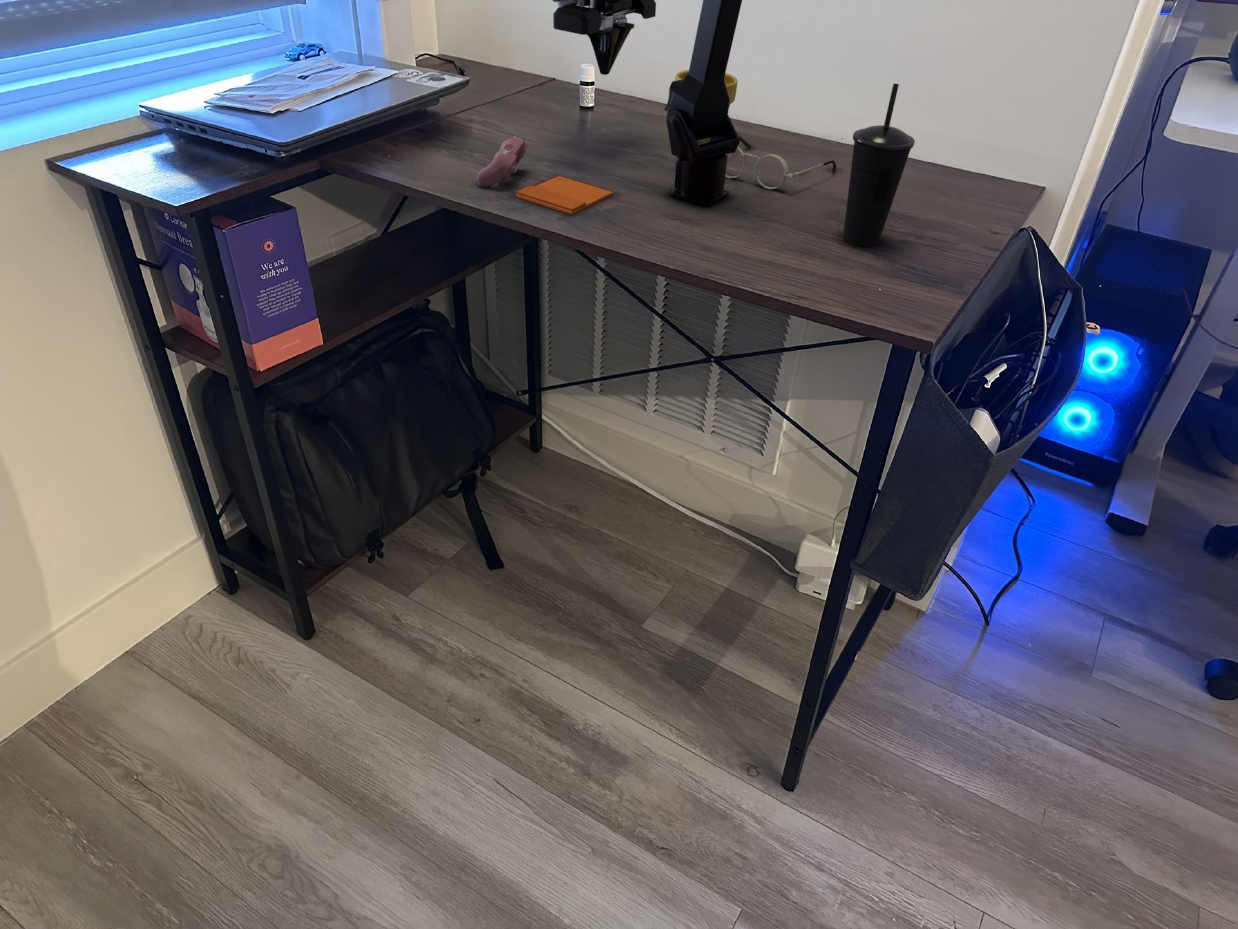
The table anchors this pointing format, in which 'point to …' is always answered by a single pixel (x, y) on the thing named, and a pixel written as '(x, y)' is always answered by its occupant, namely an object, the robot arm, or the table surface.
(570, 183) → the orange rag
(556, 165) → the table surface
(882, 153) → the drinking cup
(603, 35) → the robot arm
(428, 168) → the table surface
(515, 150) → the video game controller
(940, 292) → the table surface
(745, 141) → the round eyeglasses
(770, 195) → the table surface
